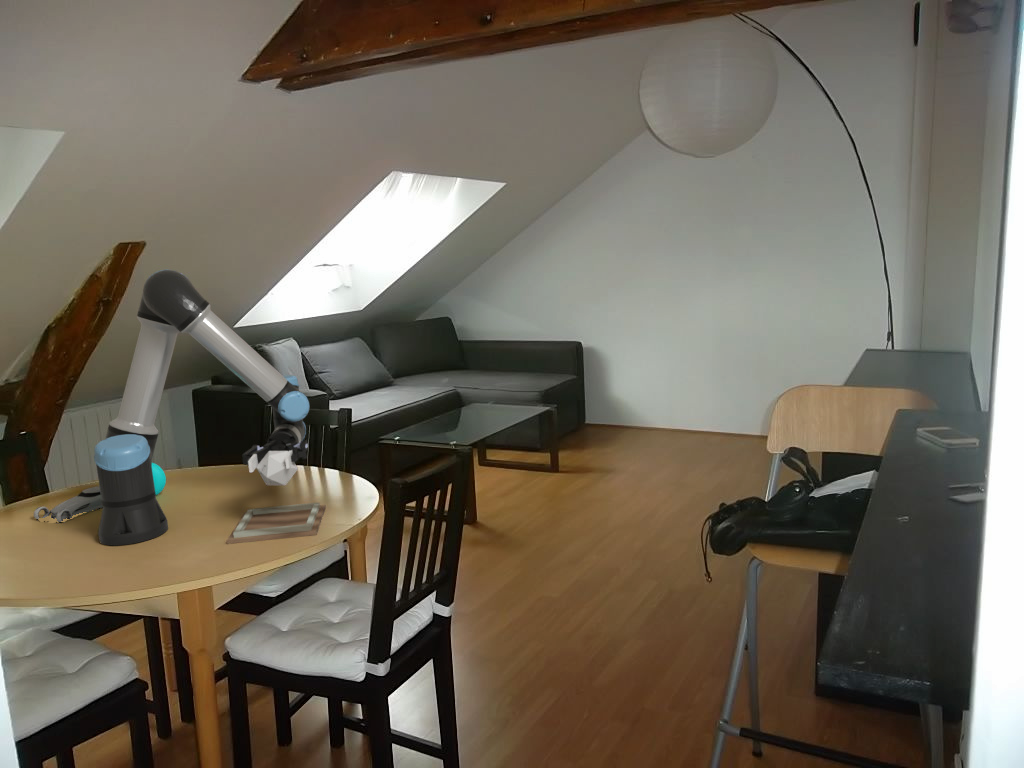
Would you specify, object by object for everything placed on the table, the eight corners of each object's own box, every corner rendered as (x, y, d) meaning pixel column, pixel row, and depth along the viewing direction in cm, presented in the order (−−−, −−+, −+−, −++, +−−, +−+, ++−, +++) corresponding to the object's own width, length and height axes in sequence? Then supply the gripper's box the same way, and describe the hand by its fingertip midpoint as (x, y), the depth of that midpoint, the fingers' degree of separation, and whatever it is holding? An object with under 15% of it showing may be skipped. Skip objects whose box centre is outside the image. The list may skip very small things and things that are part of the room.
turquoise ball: (117, 507, 216) (112, 471, 214) (134, 496, 226) (129, 461, 224) (154, 504, 216) (149, 469, 214) (169, 493, 226) (165, 459, 224)
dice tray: (245, 515, 202) (244, 508, 201) (325, 507, 204) (325, 500, 204) (227, 543, 182) (226, 535, 182) (316, 534, 184) (315, 526, 184)
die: (262, 483, 195) (244, 459, 188) (290, 460, 198) (274, 436, 191) (280, 500, 190) (262, 476, 183) (308, 476, 193) (292, 452, 186)
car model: (30, 522, 209) (27, 504, 208) (110, 494, 230) (107, 477, 230) (59, 526, 204) (56, 507, 203) (138, 497, 226) (135, 480, 225)
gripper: (326, 451, 210) (315, 475, 187) (245, 459, 208) (225, 485, 185) (322, 423, 208) (311, 444, 186) (241, 431, 206) (221, 453, 184)
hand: (268, 464), depth 186 cm, fingers closed on die, 8 cm apart
